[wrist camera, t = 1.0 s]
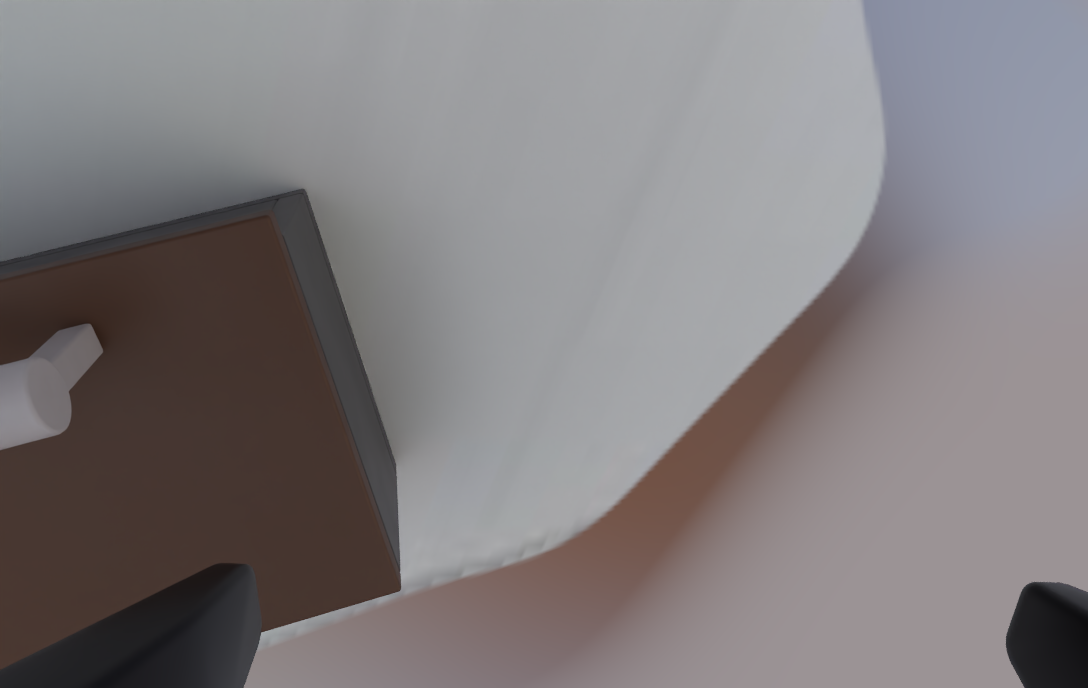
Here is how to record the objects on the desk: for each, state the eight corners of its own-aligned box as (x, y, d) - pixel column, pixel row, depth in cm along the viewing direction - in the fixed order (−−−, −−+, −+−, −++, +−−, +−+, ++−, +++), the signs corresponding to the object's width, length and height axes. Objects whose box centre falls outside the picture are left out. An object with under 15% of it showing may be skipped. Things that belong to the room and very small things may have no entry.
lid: (-408, 373, 15) (-686, 492, 11) (273, 207, 17) (240, 261, 13) (-133, 732, 19) (-268, 915, 15) (401, 574, 21) (407, 704, 17)
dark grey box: (-195, 308, 21) (-385, 399, 16) (305, 188, 22) (282, 234, 17) (-24, 584, 25) (-131, 731, 19) (396, 465, 26) (401, 573, 21)
